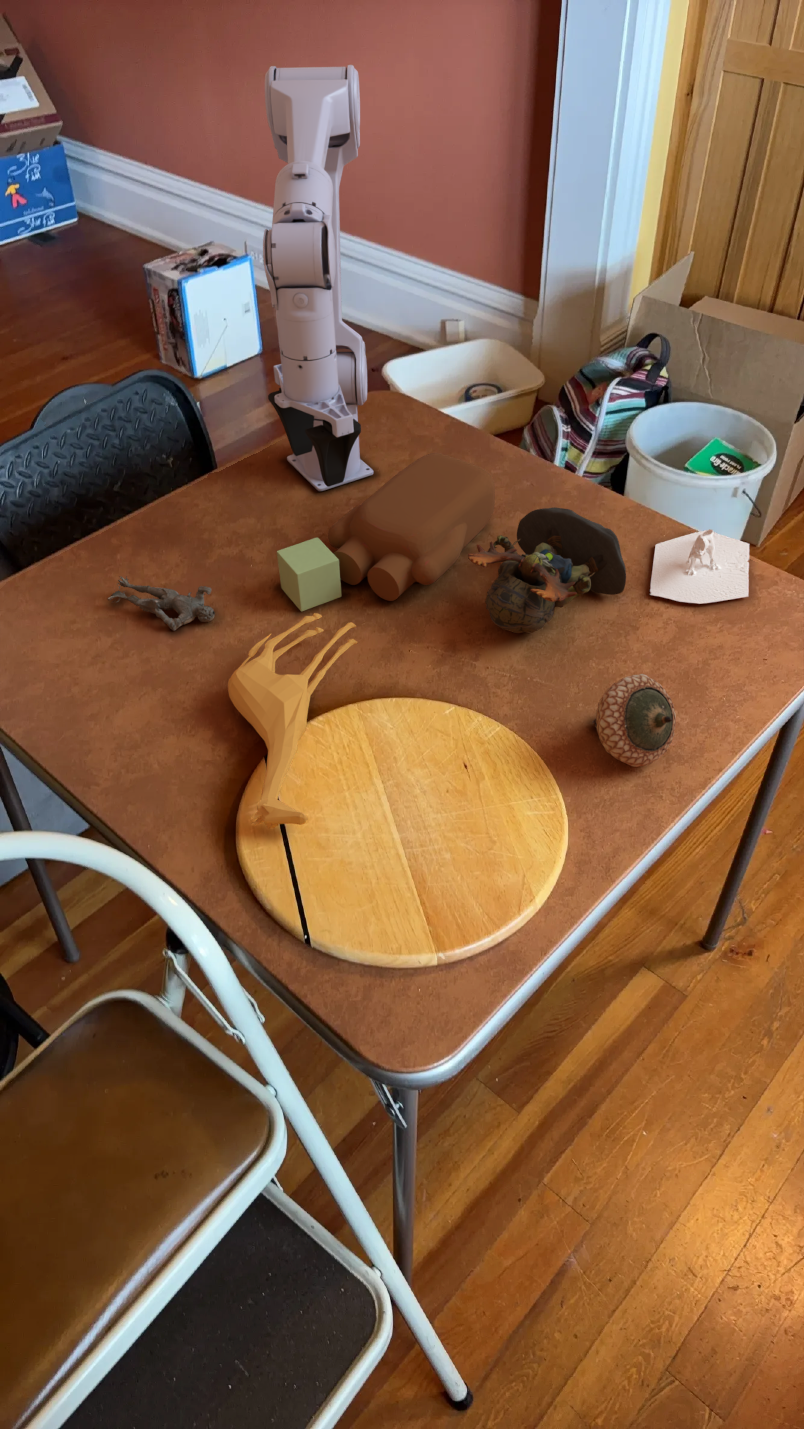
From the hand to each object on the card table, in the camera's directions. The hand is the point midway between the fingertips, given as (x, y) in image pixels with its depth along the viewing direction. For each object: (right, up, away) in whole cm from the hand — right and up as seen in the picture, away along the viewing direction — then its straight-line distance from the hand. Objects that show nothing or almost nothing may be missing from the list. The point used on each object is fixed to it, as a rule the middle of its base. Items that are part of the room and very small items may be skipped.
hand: (318, 467), depth 110 cm
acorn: (+28, -28, -16) cm, 43 cm away
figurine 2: (+24, -16, -3) cm, 29 cm away
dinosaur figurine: (+43, -12, +1) cm, 45 cm away
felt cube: (-1, -14, -1) cm, 14 cm away
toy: (+11, -9, +5) cm, 15 cm away
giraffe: (+5, -19, -10) cm, 22 cm away
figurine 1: (-16, -16, -3) cm, 23 cm away
